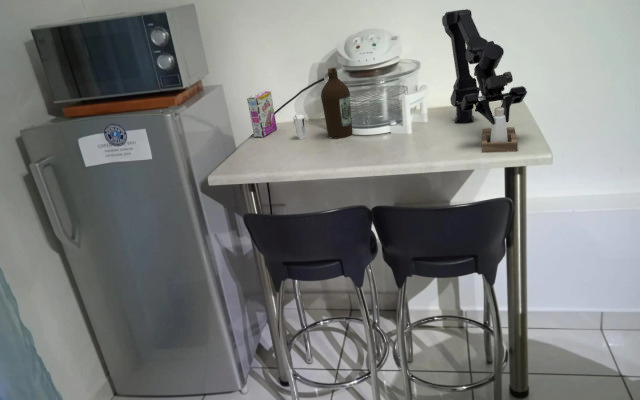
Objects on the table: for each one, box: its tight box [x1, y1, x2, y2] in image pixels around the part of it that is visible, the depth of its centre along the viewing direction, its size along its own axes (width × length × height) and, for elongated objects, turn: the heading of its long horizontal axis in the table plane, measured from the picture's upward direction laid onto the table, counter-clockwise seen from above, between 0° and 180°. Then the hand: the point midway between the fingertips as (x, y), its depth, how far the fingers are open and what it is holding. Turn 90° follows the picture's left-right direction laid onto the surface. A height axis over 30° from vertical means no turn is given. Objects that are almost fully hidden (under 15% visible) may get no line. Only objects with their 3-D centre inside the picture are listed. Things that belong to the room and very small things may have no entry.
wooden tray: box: [481, 126, 519, 153], centre depth 153 cm, size 16×10×2 cm, turn 163°
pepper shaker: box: [490, 106, 508, 143], centre depth 148 cm, size 5×5×11 cm
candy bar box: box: [246, 90, 278, 139], centre depth 199 cm, size 11×5×16 cm, turn 154°
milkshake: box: [292, 113, 307, 140], centre depth 187 cm, size 4×5×10 cm
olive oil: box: [320, 66, 353, 139], centre depth 181 cm, size 11×11×25 cm
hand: (500, 122), depth 147 cm, fingers closed on pepper shaker, 4 cm apart
